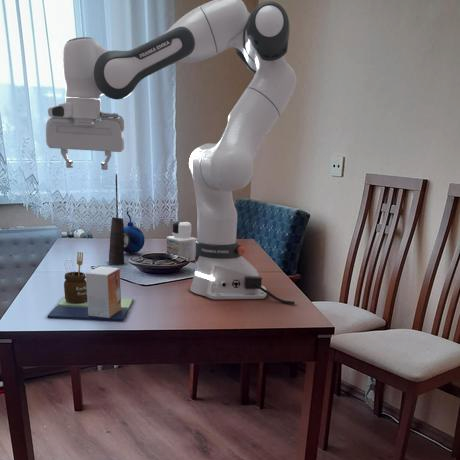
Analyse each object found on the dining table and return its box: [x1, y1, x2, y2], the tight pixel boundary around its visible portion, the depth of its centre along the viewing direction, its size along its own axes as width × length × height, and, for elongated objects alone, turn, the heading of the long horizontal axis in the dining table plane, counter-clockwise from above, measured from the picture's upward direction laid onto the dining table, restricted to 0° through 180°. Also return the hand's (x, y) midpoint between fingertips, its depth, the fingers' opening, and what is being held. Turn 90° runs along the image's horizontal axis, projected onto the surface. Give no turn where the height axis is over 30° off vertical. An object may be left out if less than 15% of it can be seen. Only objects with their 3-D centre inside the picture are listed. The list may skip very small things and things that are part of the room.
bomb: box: [124, 210, 146, 254], centre depth 199 cm, size 10×11×15 cm
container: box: [166, 220, 197, 262], centre depth 195 cm, size 8×8×13 cm
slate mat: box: [47, 305, 129, 322], centre depth 137 cm, size 18×8×1 cm, turn 91°
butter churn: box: [108, 173, 125, 266], centre depth 180 cm, size 9×10×28 cm
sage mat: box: [57, 296, 134, 311], centre depth 145 cm, size 18×8×1 cm, turn 91°
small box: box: [85, 265, 122, 318], centre depth 134 cm, size 8×6×10 cm
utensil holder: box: [63, 251, 87, 303], centre depth 142 cm, size 6×6×12 cm
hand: (87, 168), depth 151 cm, fingers open, 8 cm apart
